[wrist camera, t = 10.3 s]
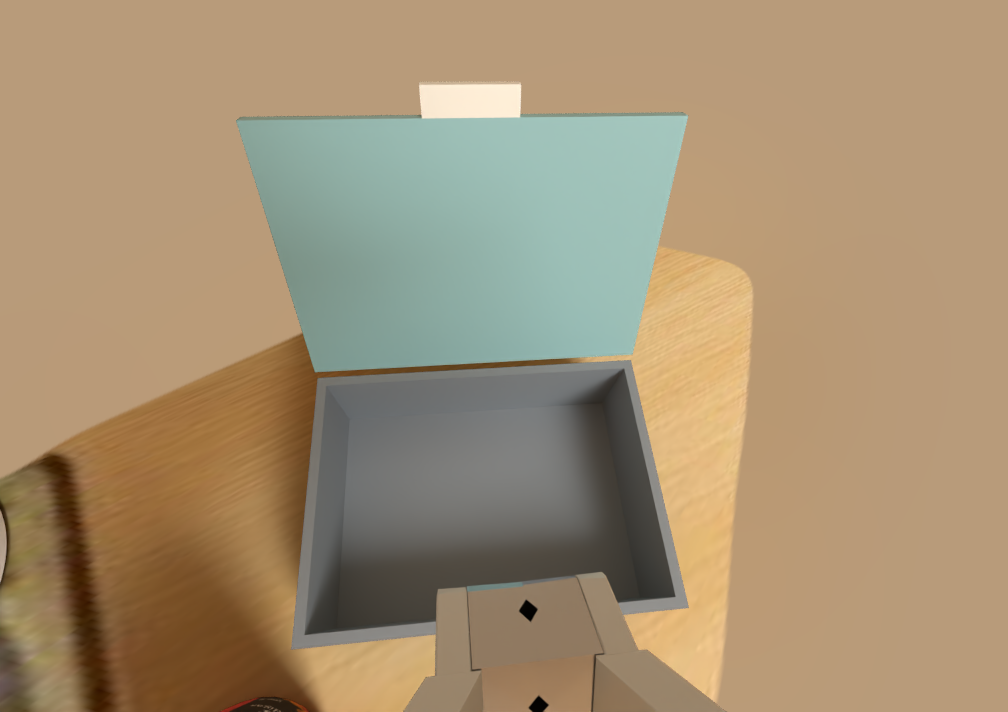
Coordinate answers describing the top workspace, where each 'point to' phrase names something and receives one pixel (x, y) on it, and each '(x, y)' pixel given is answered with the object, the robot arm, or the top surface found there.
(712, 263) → the top surface
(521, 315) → the mailer lid
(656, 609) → the box
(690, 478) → the top surface
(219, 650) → the top surface
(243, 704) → the canned food
